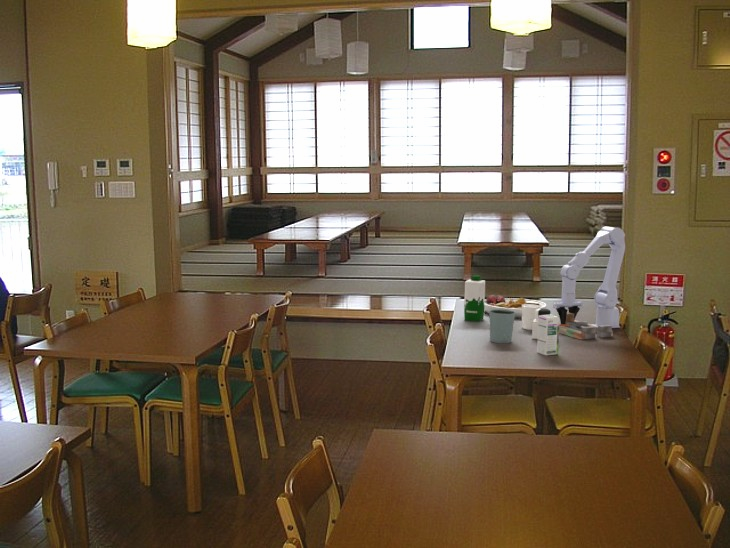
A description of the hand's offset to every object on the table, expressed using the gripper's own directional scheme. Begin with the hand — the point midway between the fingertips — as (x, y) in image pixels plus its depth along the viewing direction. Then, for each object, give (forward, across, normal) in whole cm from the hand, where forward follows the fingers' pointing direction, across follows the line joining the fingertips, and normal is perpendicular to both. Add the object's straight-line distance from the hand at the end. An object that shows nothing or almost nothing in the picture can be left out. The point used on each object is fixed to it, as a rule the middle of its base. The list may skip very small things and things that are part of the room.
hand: (567, 323), depth 351 cm
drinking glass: (+2, +41, +11) cm, 43 cm away
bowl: (+3, 0, -40) cm, 40 cm away
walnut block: (+2, 0, 0) cm, 2 cm away
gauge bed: (+2, 0, +7) cm, 7 cm away
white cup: (+2, +15, -6) cm, 16 cm away
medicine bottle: (+2, +22, +12) cm, 25 cm away
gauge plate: (+2, +3, +9) cm, 10 cm away
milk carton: (+2, +28, -31) cm, 42 cm away
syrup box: (+2, +37, +36) cm, 52 cm away
